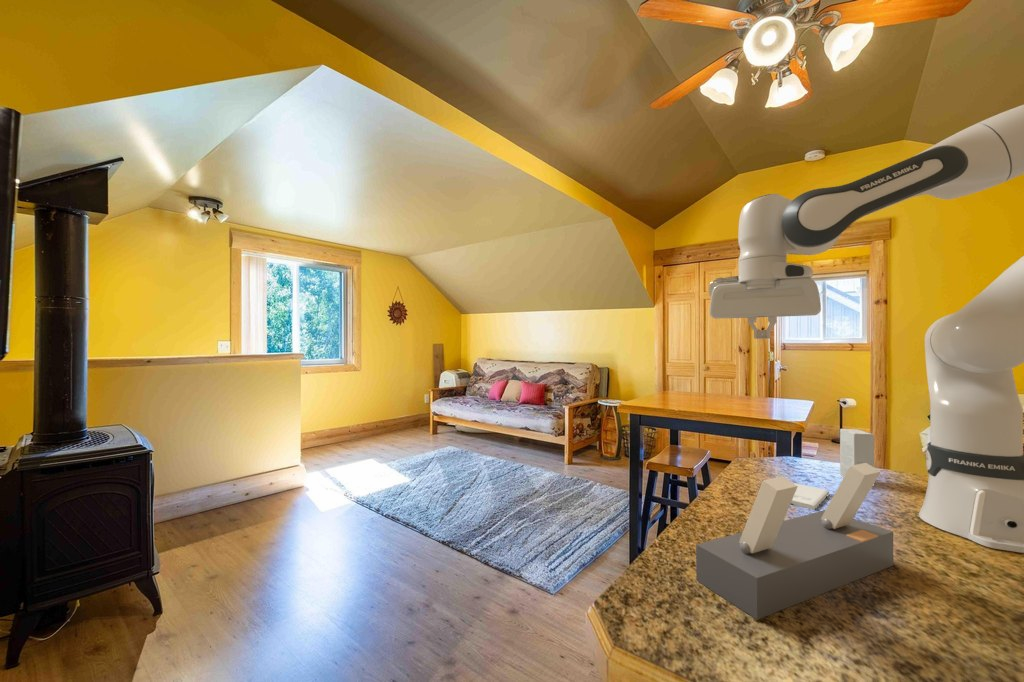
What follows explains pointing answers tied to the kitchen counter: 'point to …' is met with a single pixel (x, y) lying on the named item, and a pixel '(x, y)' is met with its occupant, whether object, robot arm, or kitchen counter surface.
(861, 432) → the skincare box
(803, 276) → the robot arm
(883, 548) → the switch box
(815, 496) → the external hard drive
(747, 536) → the lever
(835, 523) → the lever
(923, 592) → the kitchen counter surface
